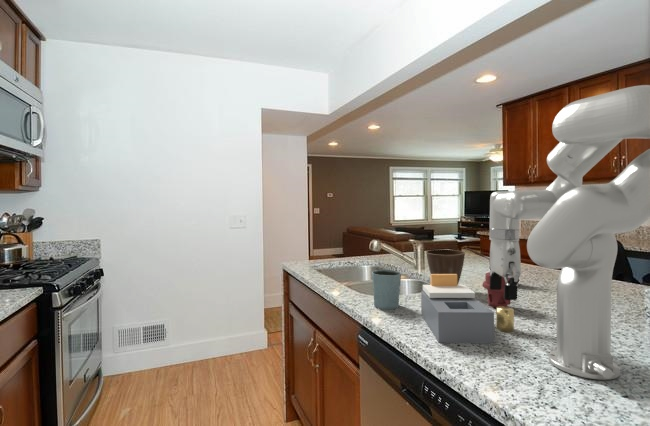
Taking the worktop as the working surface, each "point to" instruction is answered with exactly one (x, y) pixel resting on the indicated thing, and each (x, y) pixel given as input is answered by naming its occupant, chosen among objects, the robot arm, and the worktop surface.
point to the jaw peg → (504, 319)
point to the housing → (458, 319)
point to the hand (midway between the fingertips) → (502, 294)
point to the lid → (447, 287)
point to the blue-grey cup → (386, 289)
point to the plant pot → (445, 262)
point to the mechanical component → (495, 293)
